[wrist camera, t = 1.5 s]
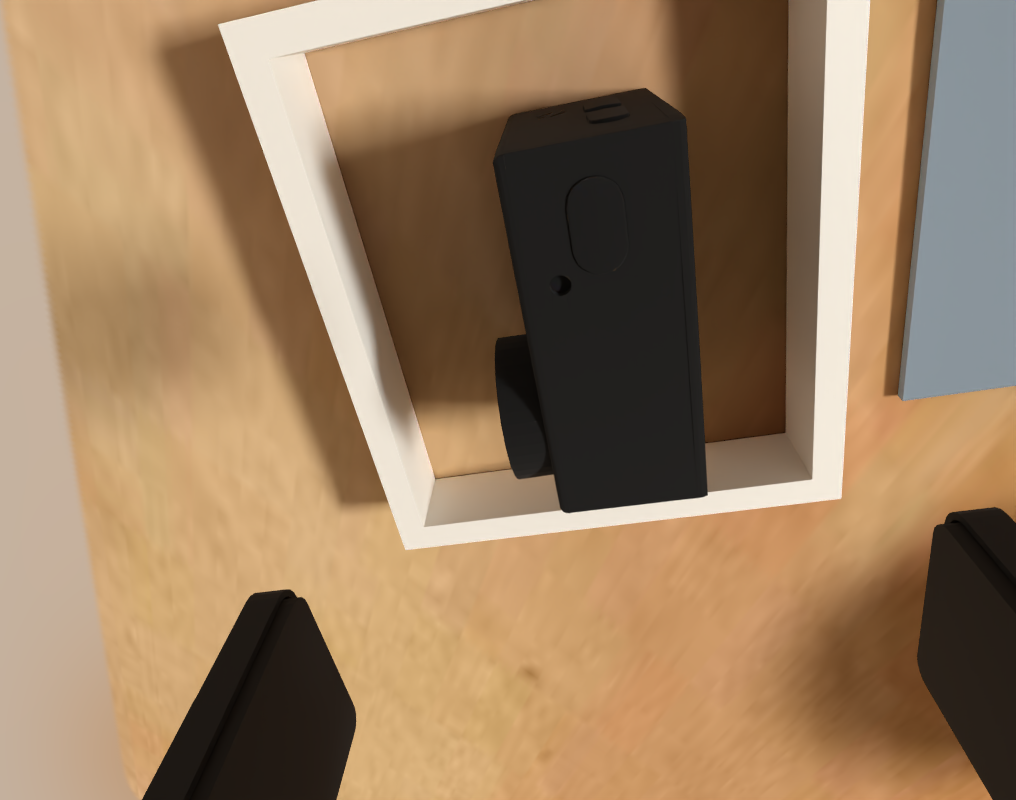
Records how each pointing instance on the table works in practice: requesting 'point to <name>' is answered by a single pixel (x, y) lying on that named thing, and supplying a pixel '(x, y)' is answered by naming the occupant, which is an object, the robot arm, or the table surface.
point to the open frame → (366, 336)
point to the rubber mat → (965, 209)
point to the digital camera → (602, 303)
